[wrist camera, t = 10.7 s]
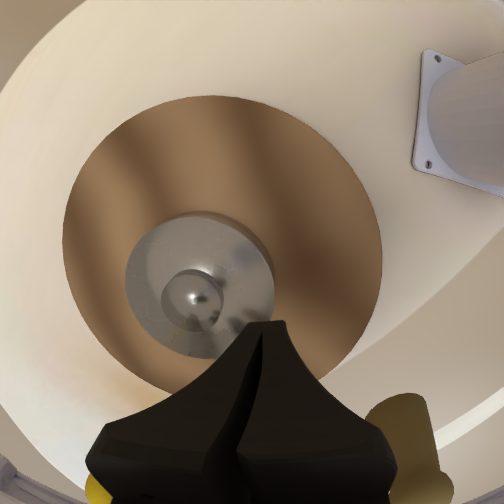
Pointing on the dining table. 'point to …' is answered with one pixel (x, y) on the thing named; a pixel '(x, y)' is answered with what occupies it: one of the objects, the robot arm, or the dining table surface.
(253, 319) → the cover
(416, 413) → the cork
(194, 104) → the turntable
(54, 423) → the dining table surface
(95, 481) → the lemon
